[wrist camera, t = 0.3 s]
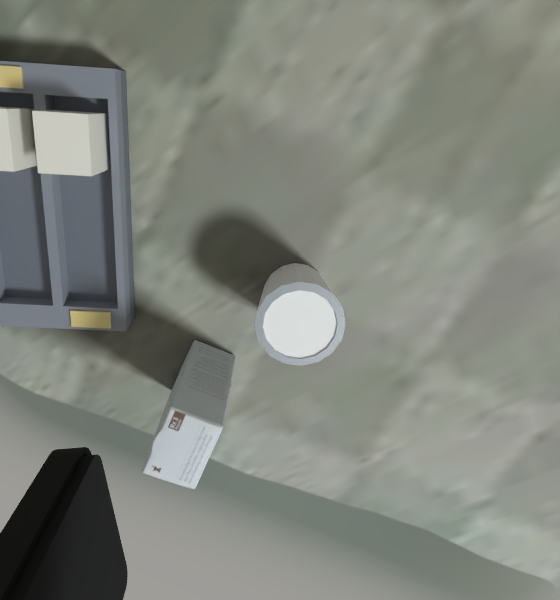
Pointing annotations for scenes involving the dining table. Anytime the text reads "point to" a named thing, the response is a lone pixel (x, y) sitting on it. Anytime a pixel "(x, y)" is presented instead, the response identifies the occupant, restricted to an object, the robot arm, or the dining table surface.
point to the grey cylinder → (298, 316)
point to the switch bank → (67, 212)
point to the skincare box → (192, 417)
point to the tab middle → (17, 139)
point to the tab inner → (71, 142)
